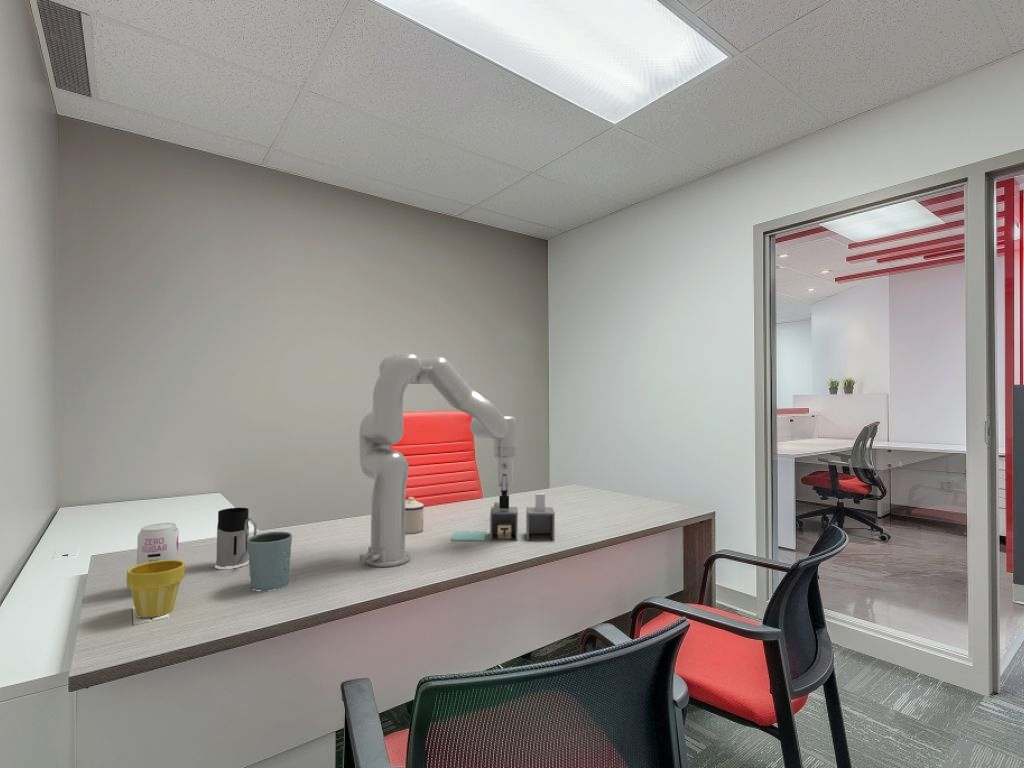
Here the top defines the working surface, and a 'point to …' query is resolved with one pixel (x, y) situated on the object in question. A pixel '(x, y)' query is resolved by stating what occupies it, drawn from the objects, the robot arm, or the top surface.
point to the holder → (233, 536)
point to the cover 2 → (540, 517)
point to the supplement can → (157, 543)
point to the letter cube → (504, 529)
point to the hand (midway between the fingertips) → (504, 506)
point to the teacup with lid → (413, 516)
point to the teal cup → (269, 560)
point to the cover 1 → (503, 519)
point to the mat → (468, 536)
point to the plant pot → (155, 586)
